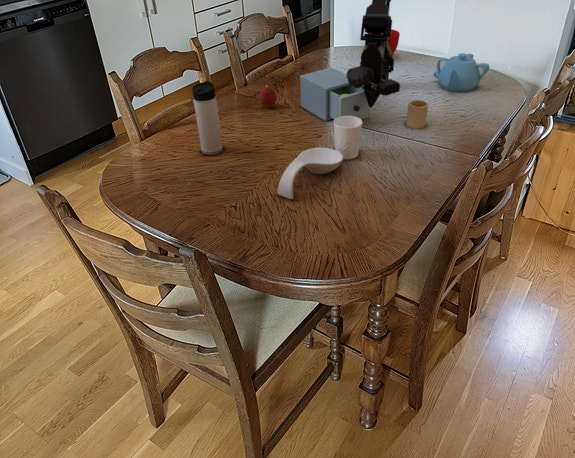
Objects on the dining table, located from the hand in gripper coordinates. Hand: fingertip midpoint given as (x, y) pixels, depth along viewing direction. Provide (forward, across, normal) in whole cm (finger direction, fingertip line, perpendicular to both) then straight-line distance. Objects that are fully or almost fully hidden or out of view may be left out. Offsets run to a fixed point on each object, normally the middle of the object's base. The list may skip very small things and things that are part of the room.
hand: (370, 107), depth 155 cm
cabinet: (+6, -17, -4) cm, 18 cm away
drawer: (+5, -9, -4) cm, 11 cm away
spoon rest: (+6, +17, -34) cm, 38 cm away
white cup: (+6, +12, -18) cm, 22 cm away
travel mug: (+6, -13, -49) cm, 51 cm away
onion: (+6, -30, -20) cm, 37 cm away
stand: (+6, +9, +11) cm, 15 cm away
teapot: (+6, -6, +46) cm, 47 cm away
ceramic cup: (0, -44, +42) cm, 61 cm away
